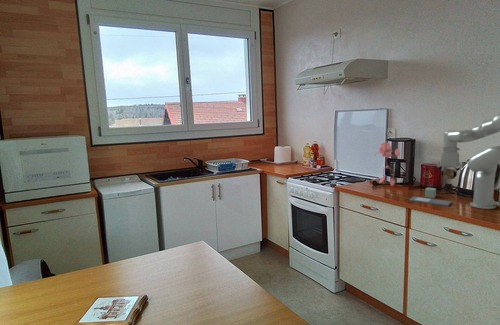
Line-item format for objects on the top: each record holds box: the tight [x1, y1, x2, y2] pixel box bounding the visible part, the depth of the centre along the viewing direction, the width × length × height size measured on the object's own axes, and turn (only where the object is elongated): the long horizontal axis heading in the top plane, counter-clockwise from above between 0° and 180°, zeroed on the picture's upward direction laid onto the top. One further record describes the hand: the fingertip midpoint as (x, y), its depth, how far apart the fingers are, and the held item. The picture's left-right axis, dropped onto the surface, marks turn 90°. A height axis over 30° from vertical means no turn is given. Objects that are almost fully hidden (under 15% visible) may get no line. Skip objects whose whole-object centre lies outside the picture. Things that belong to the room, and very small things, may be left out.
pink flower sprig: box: [374, 141, 401, 189], centre depth 253 cm, size 15×26×35 cm, turn 22°
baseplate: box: [408, 196, 452, 208], centre depth 205 cm, size 22×10×1 cm, turn 48°
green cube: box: [424, 187, 437, 199], centre depth 218 cm, size 6×6×6 cm
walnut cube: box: [442, 168, 455, 180], centre depth 209 cm, size 6×6×6 cm
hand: (449, 176), depth 209 cm, fingers closed on walnut cube, 5 cm apart
